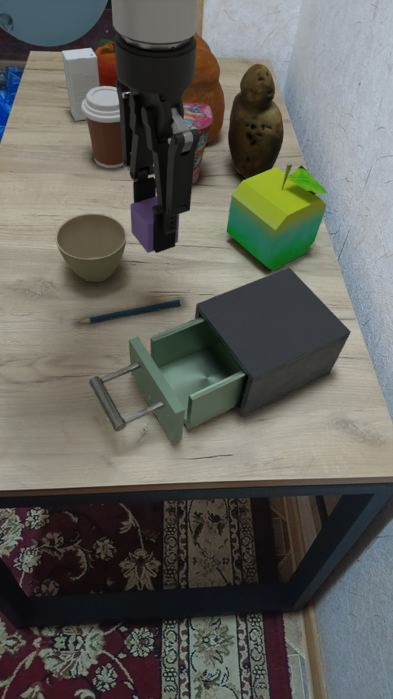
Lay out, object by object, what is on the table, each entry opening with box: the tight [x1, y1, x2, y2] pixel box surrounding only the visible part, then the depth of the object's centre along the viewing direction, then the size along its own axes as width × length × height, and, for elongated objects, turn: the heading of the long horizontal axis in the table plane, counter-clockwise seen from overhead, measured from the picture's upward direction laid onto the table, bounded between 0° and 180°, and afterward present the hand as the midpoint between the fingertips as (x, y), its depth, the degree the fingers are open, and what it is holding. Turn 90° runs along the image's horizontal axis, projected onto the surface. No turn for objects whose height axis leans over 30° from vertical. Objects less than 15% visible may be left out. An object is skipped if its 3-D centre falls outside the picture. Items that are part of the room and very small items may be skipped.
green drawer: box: [88, 316, 248, 445], centre depth 59 cm, size 20×11×7 cm, turn 121°
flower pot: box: [54, 212, 127, 283], centre depth 73 cm, size 10×10×7 cm
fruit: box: [94, 38, 118, 87], centre depth 108 cm, size 10×10×10 cm
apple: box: [225, 164, 329, 271], centre depth 76 cm, size 11×10×15 cm
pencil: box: [78, 299, 182, 324], centre depth 71 cm, size 1×1×15 cm
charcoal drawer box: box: [194, 267, 352, 419], centre depth 64 cm, size 15×13×9 cm
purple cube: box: [129, 195, 180, 254], centre depth 61 cm, size 4×4×4 cm
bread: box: [182, 32, 226, 144], centre depth 97 cm, size 18×21×17 cm
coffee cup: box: [81, 85, 124, 169], centre depth 90 cm, size 9×9×12 cm
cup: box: [183, 103, 213, 186], centre depth 88 cm, size 9×8×12 cm
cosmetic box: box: [61, 47, 101, 122], centre depth 99 cm, size 6×4×12 cm
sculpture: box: [227, 63, 285, 179], centre depth 86 cm, size 13×8×20 cm, turn 11°
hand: (154, 235), depth 63 cm, fingers closed on purple cube, 4 cm apart
